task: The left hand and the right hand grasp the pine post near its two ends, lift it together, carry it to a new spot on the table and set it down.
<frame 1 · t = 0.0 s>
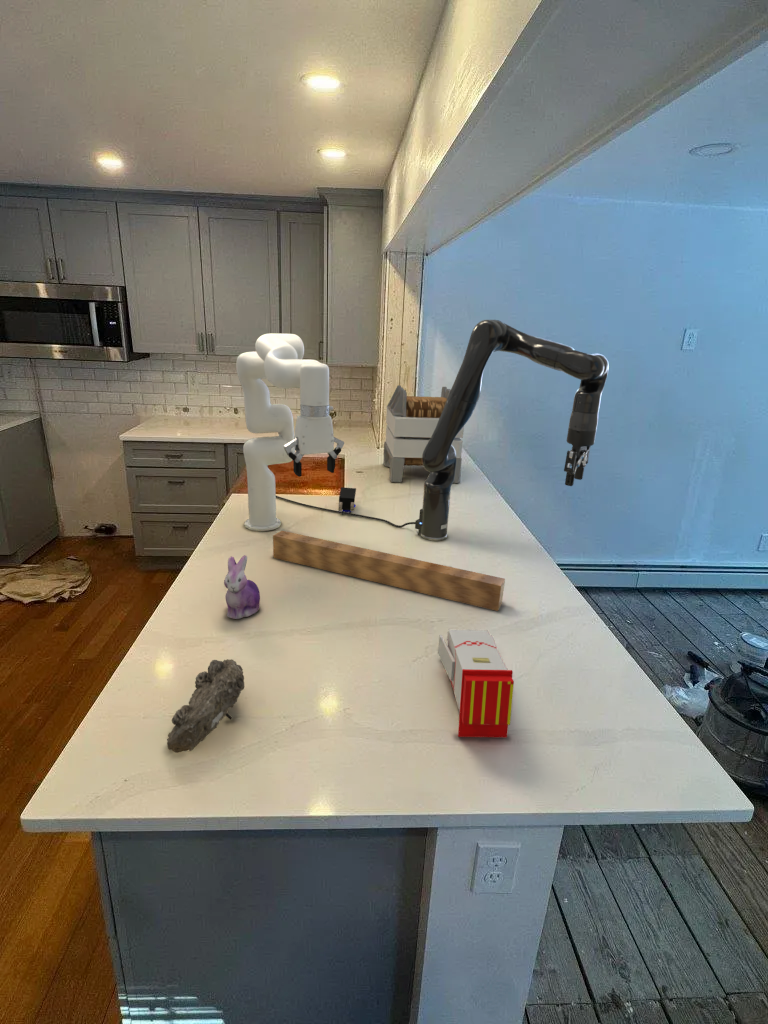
left hand: (314, 473, 156), 31 cm above the counter, tool pointing down, fingers open, 9 cm apart
right hand: (573, 482, 165), 29 cm above the counter, tool pointing down, fingers open, 8 cm apart
figurine: (243, 611, 145), on the counter
fossil: (212, 717, 108), on the counter
toy: (469, 691, 119), on the counter
figurine character: (347, 510, 220), on the counter
grey storage crate: (419, 473, 275), on the counter
post: (380, 579, 166), on the counter
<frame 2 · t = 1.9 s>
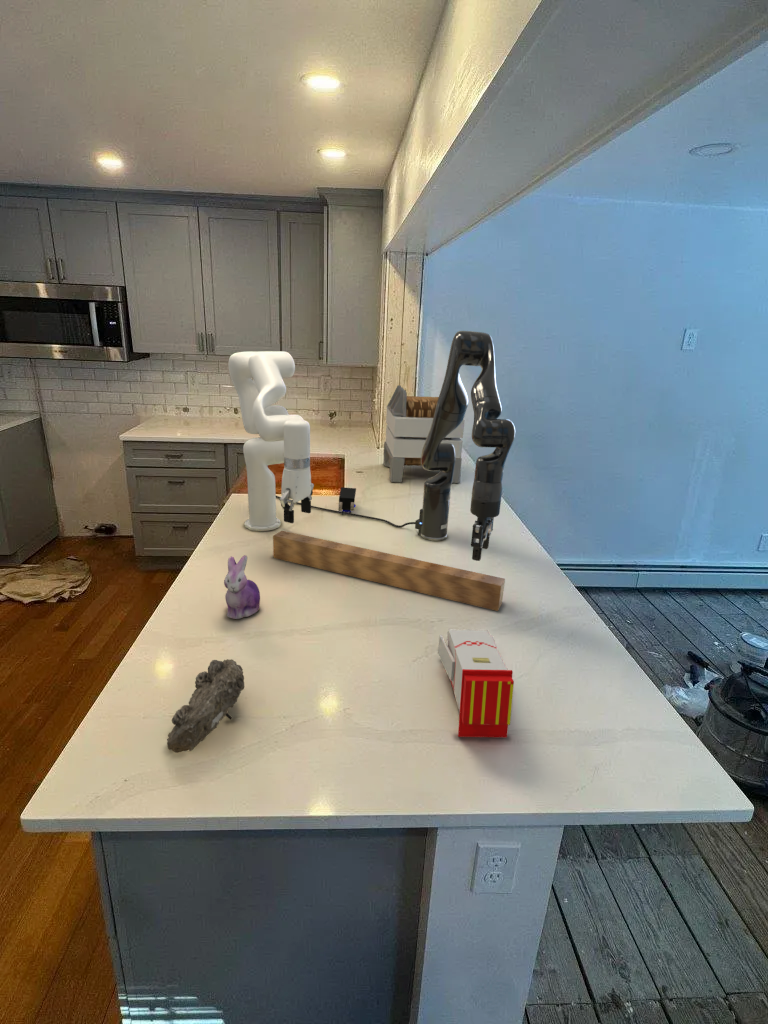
left hand: (297, 517, 171), 14 cm above the counter, tool pointing down, fingers open, 9 cm apart
right hand: (480, 554, 151), 14 cm above the counter, tool pointing down, fingers open, 8 cm apart
nothing on the counter moved.
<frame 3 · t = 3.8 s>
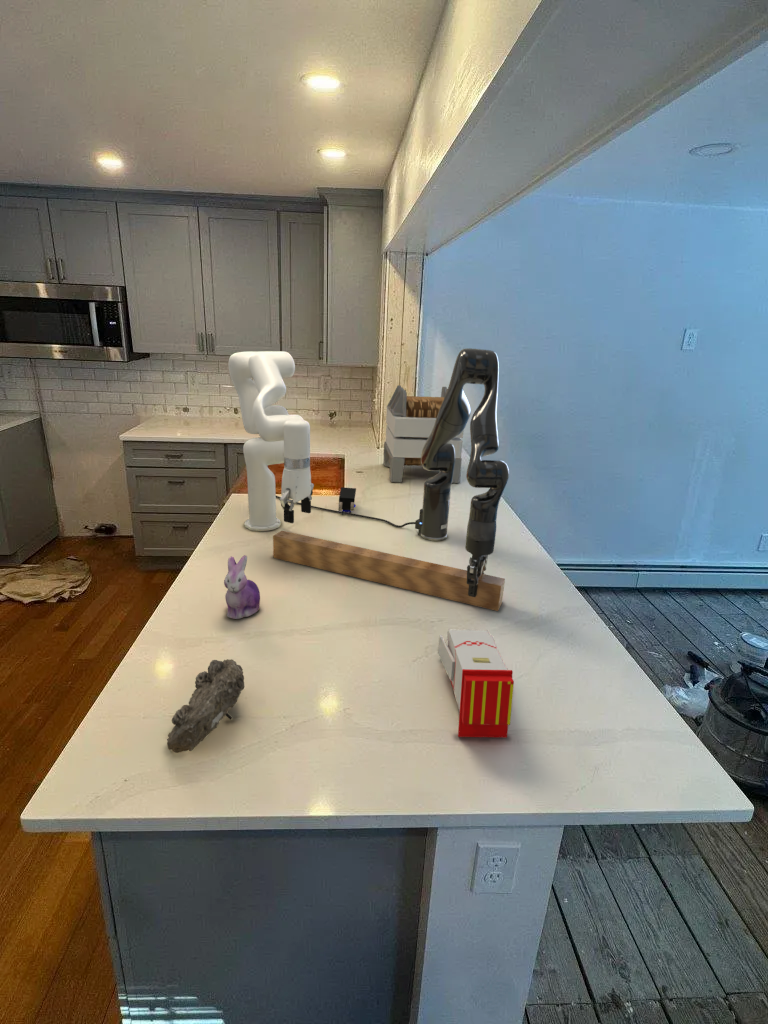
left hand: (297, 517, 171), 14 cm above the counter, tool pointing down, fingers open, 9 cm apart
right hand: (474, 591, 155), 3 cm above the counter, tool pointing down, fingers closed on post, 5 cm apart
post: (380, 579, 166), on the counter, touching right hand
everything else where it was.
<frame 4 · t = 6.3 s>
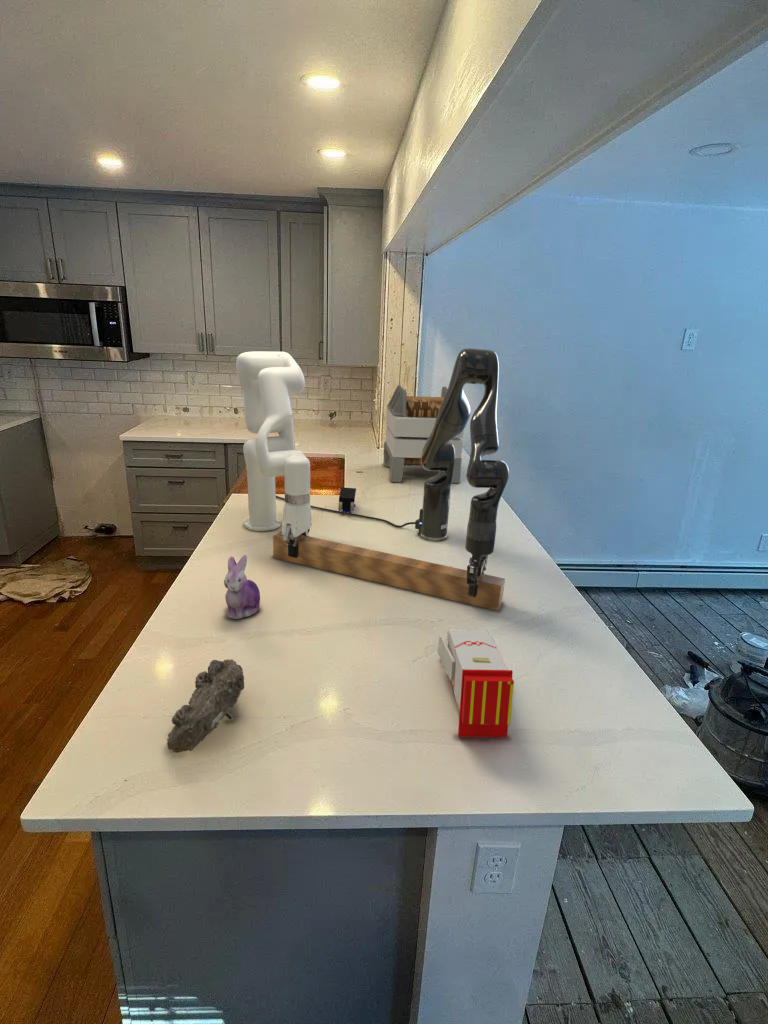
left hand: (298, 552, 175), 2 cm above the counter, tool pointing down, fingers closed on post, 5 cm apart
right hand: (474, 591, 155), 3 cm above the counter, tool pointing down, fingers closed on post, 5 cm apart
post: (380, 579, 166), on the counter, touching right hand, left hand
everything else where it was.
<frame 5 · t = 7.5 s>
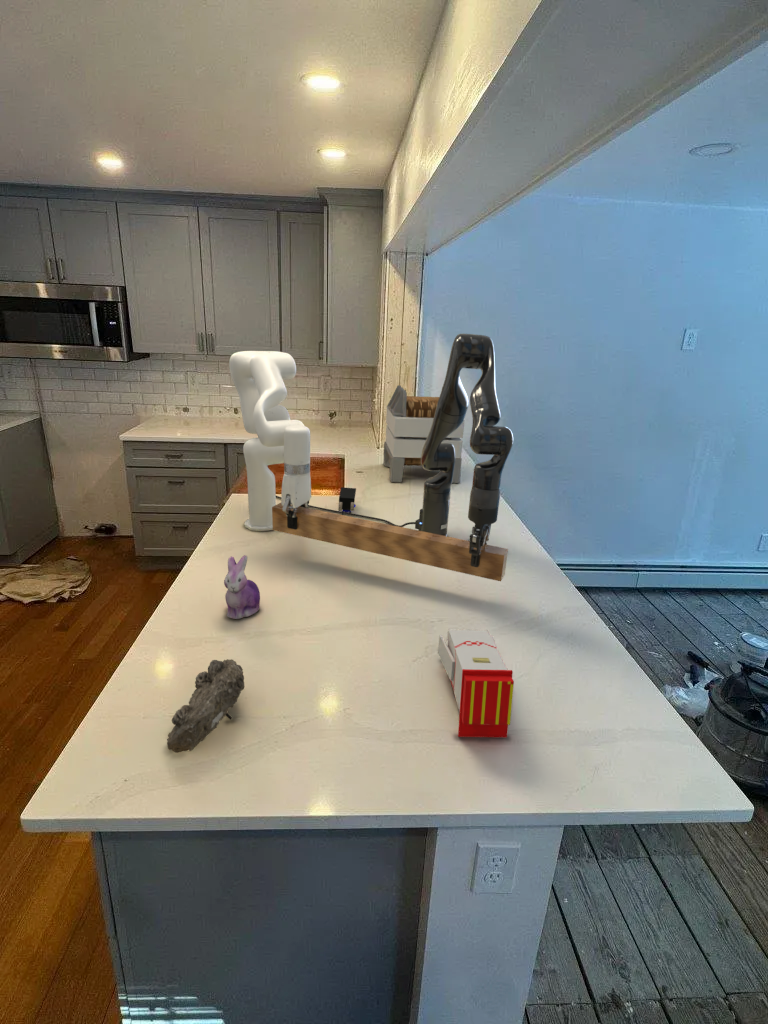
left hand: (297, 524, 173), 12 cm above the counter, tool pointing down, fingers closed on post, 5 cm apart
right hand: (477, 562, 152), 12 cm above the counter, tool pointing down, fingers closed on post, 5 cm apart
post: (381, 550, 163), point 9 cm above the counter, touching right hand, left hand
everything else where it was.
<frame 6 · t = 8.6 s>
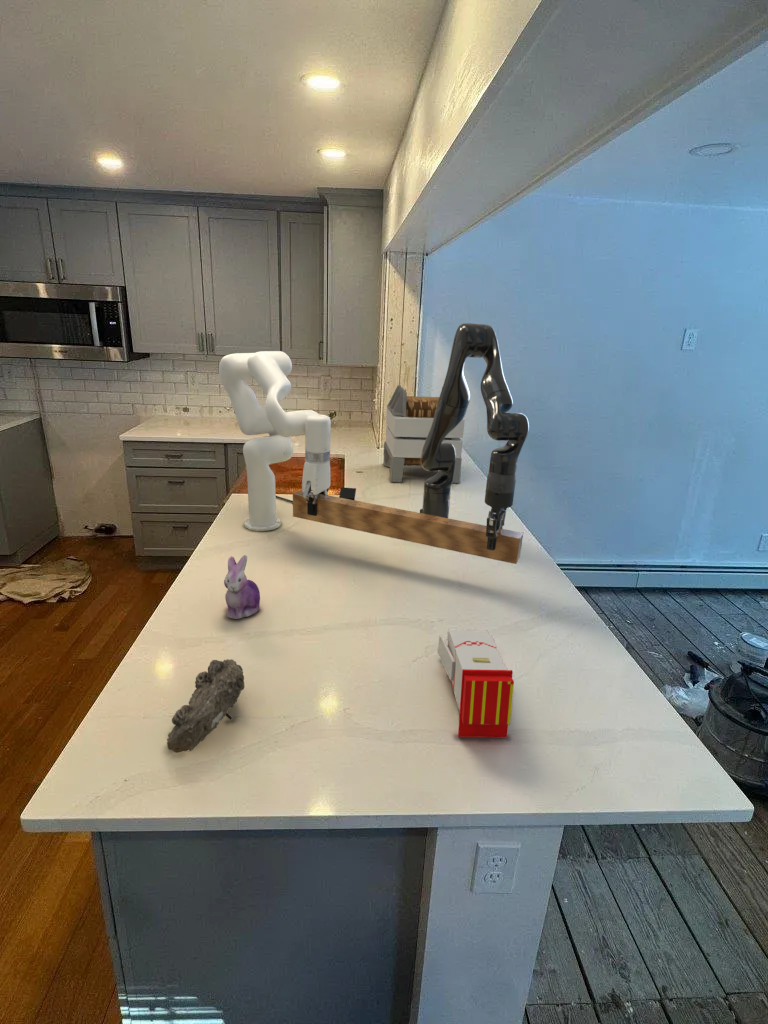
left hand: (317, 511, 178), 14 cm above the counter, tool pointing down, fingers closed on post, 5 cm apart
right hand: (493, 545, 157), 14 cm above the counter, tool pointing down, fingers closed on post, 5 cm apart
post: (399, 535, 169), point 11 cm above the counter, touching right hand, left hand
everything else where it was.
when the left hand's fingers open (3 cm above the counter, at t = 11.2 s): post moves 1 cm, on the counter.
when the right hand's fingers open (4 cm above the counter, at t = 11.2 s): post moves 1 cm, on the counter.
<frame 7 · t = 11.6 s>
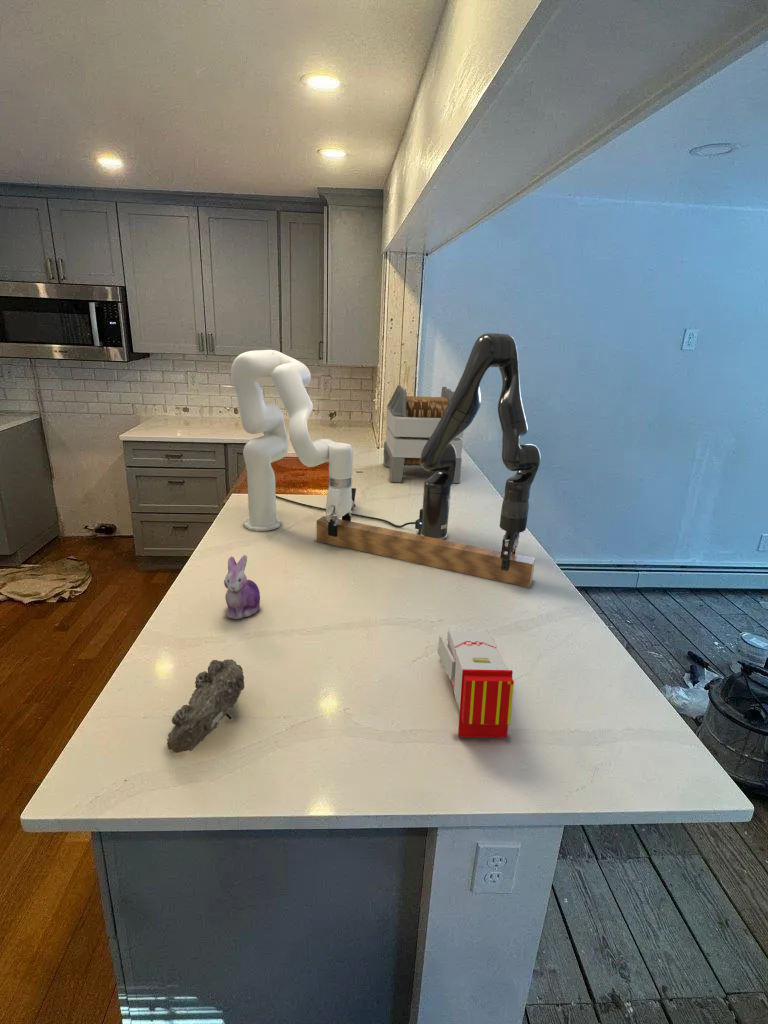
left hand: (339, 531, 188), 4 cm above the counter, tool pointing down, fingers open, 9 cm apart
right hand: (507, 564, 168), 5 cm above the counter, tool pointing down, fingers open, 8 cm apart
post: (417, 559, 180), on the counter
everything else where it was.
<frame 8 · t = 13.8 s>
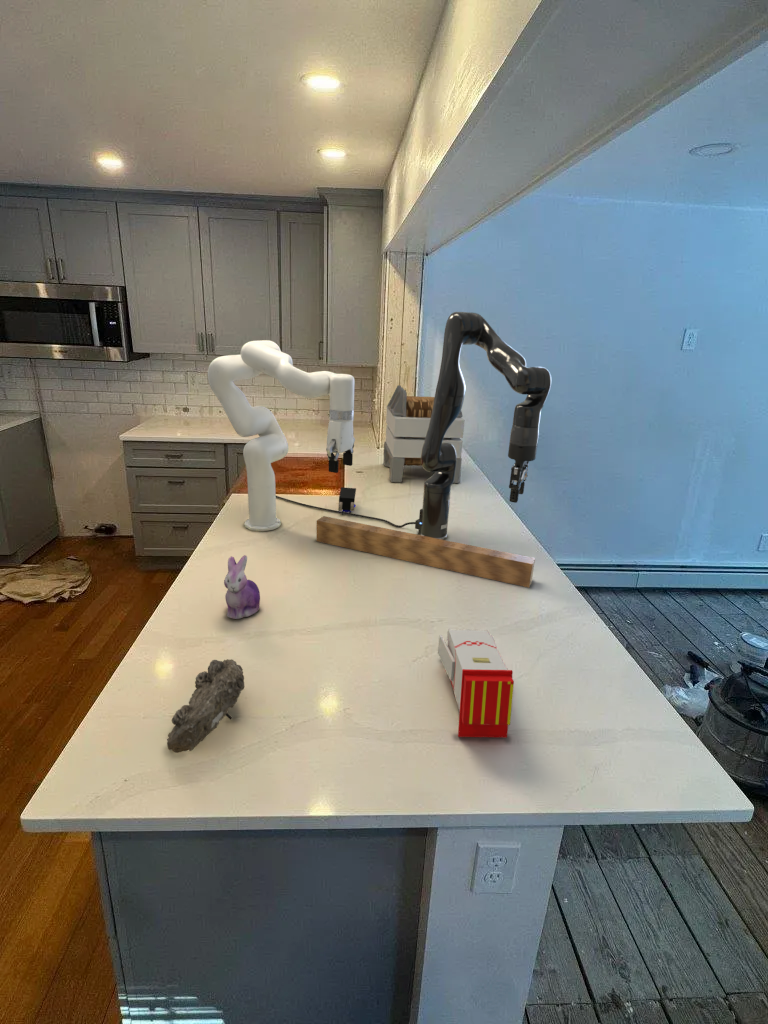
left hand: (340, 468, 181), 26 cm above the counter, tool pointing down, fingers open, 9 cm apart
right hand: (516, 497, 161), 26 cm above the counter, tool pointing down, fingers open, 8 cm apart
nothing on the counter moved.
at the end: post inside the target area (0.1 cm from its centre), on the counter; post tilted 0°; post never tilted more than 1° during the clip; both hands held the post at the same time; the left hand is holding nothing; the right hand is holding nothing; post at rest at the end (0.0 cm/s) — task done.
